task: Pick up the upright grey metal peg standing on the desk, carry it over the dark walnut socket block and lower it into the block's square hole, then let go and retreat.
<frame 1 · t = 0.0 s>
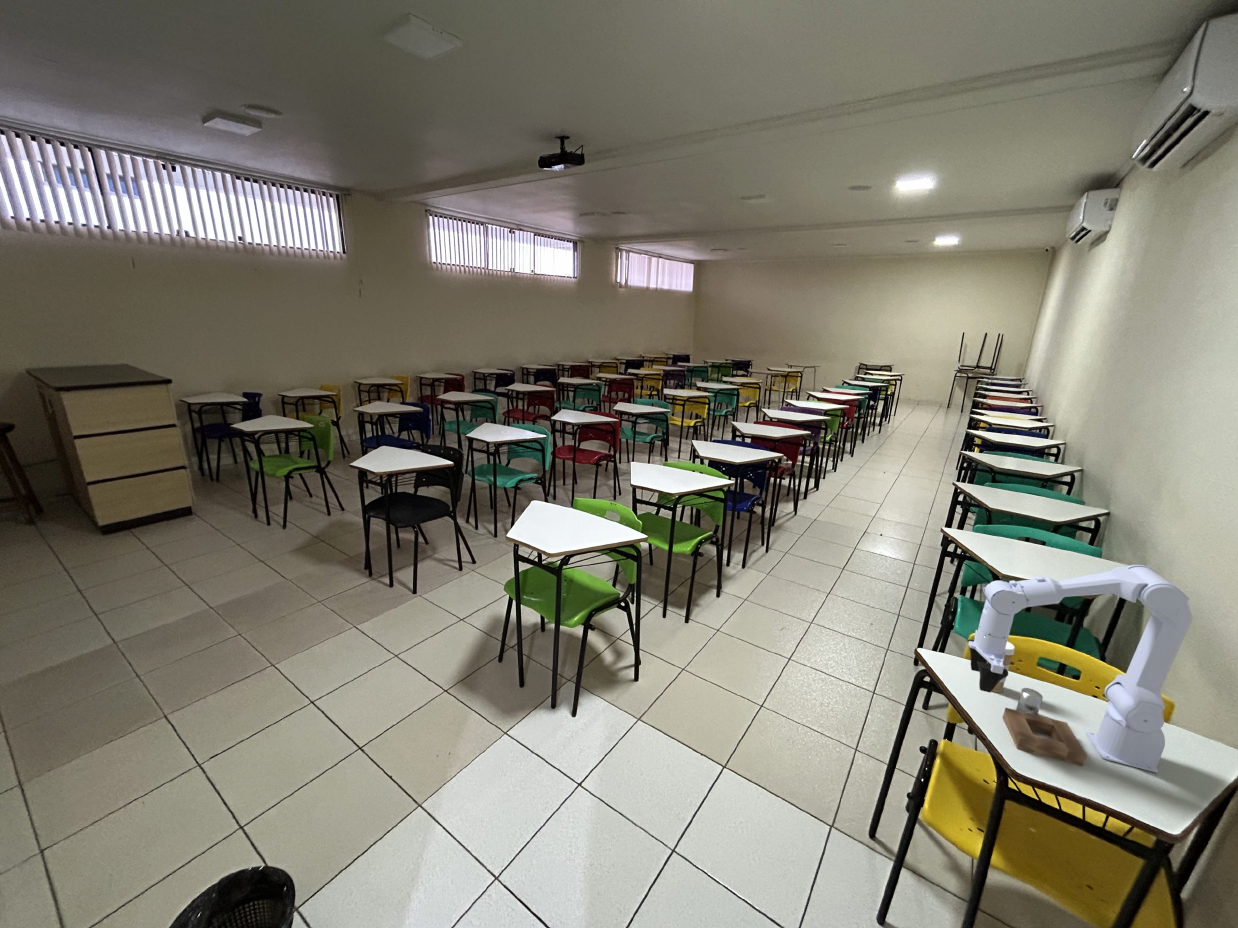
hand: (980, 680, 120), 10 cm above the table, fingers open, 7 cm apart
sprinkles bottle: (992, 687, 132), on the table
socket block: (1040, 740, 115), on the table
peg: (1026, 713, 124), on the table
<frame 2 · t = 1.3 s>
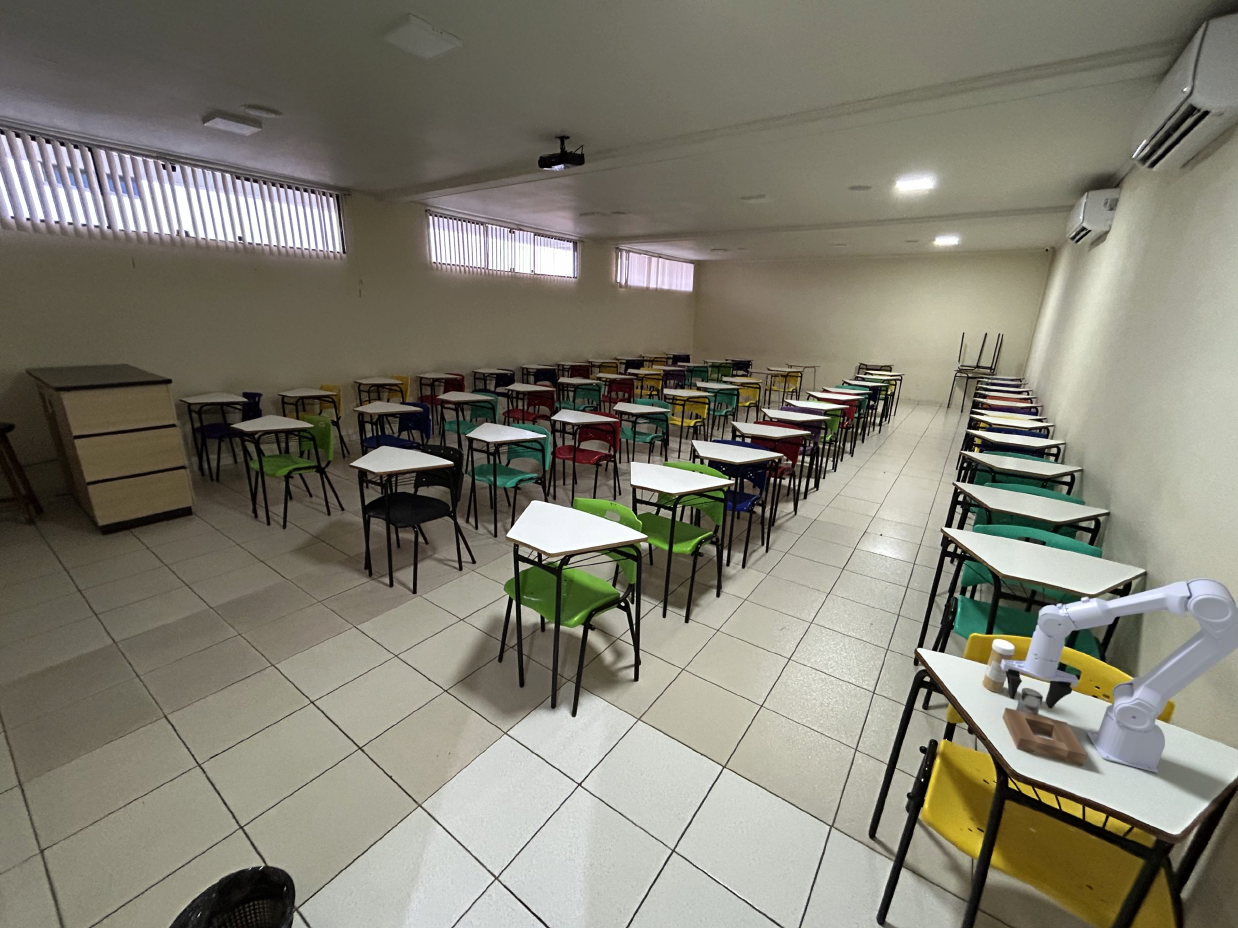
hand: (1029, 700, 123), 4 cm above the table, fingers open, 7 cm apart
nothing on the table moved.
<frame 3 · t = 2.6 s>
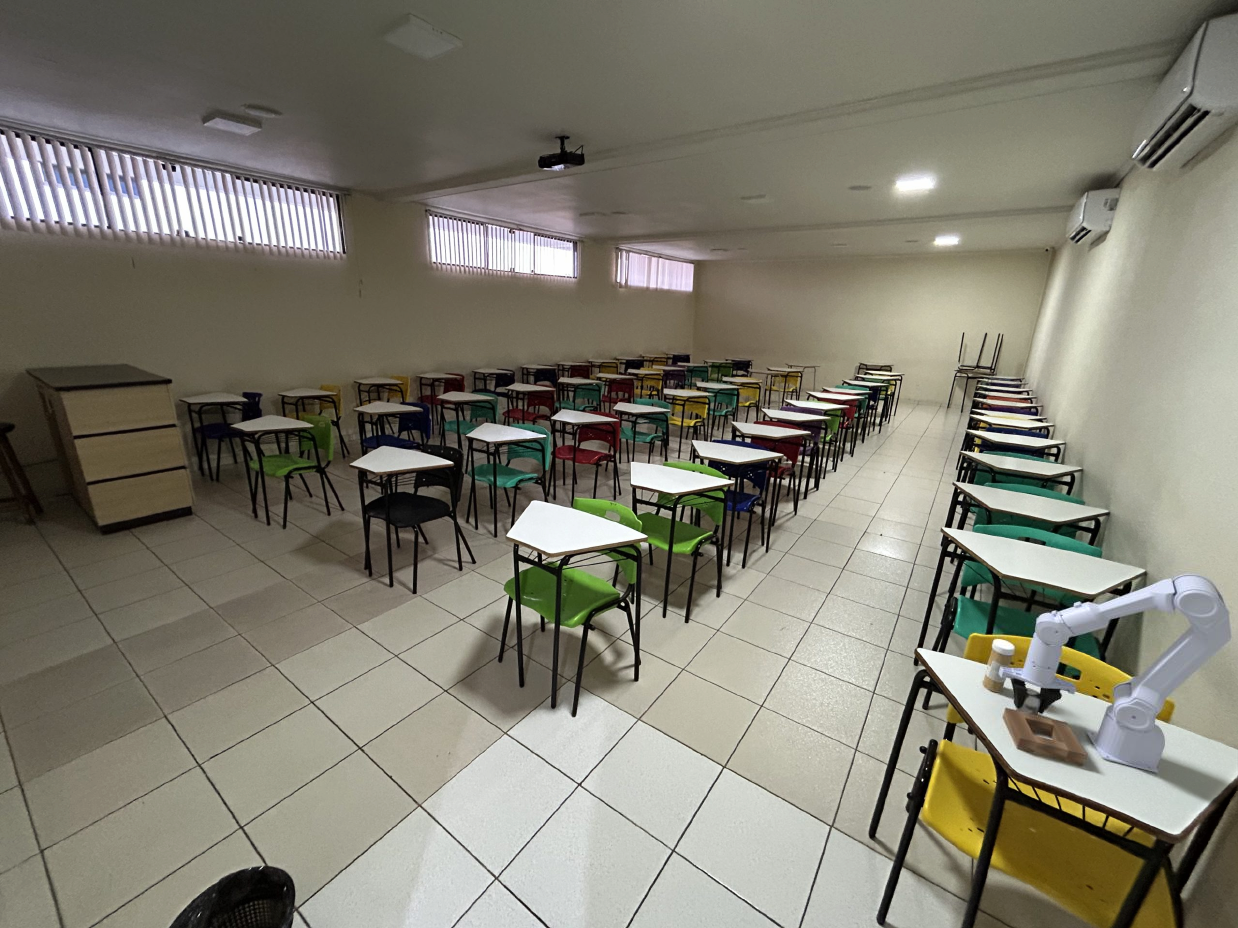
hand: (1027, 708, 123), 2 cm above the table, fingers closed on peg, 4 cm apart
peg: (1026, 713, 124), on the table, touching gripper
everything else where it was.
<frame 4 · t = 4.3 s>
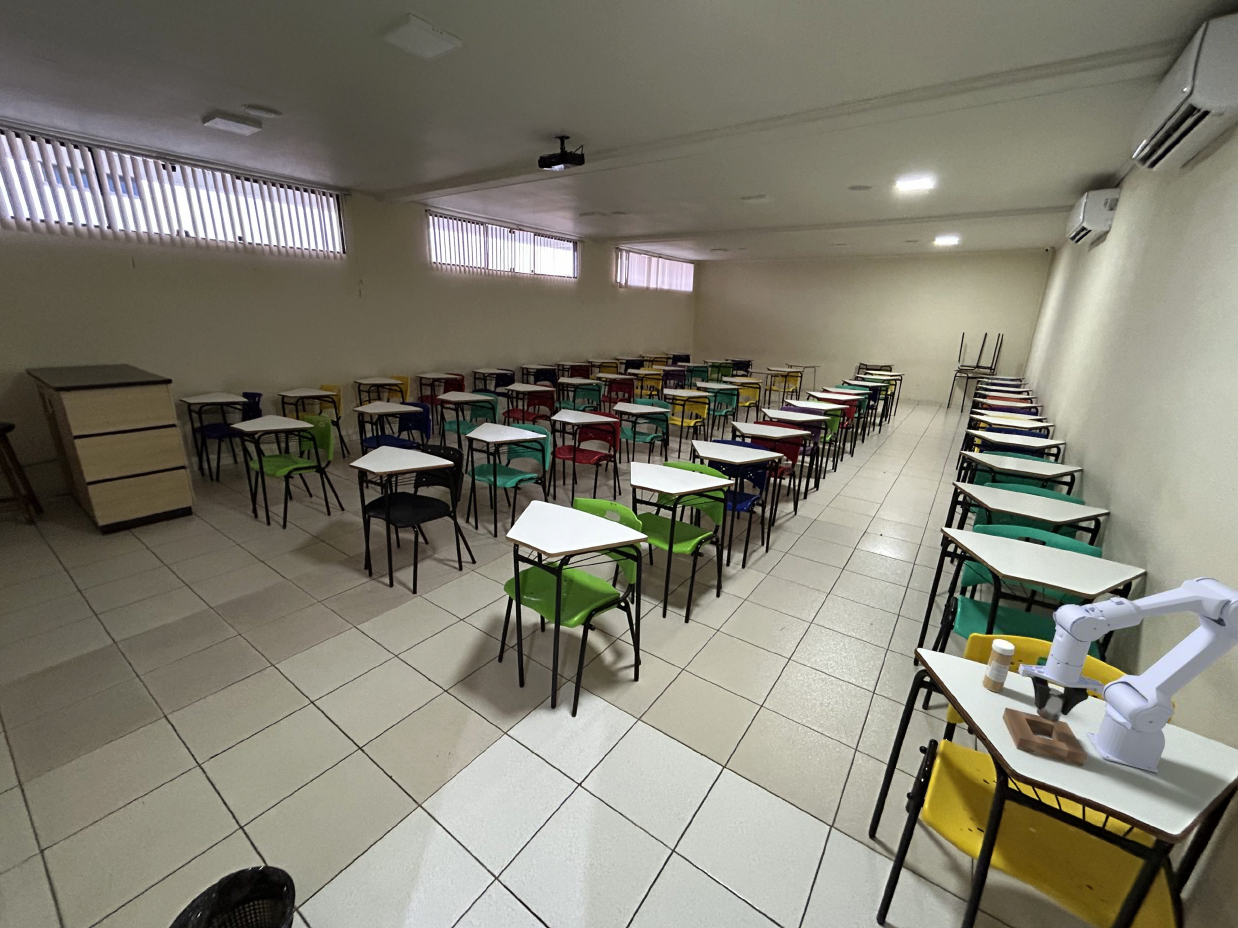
hand: (1050, 709, 113), 9 cm above the table, fingers closed on peg, 4 cm apart
peg: (1047, 715, 114), point 7 cm above the table, touching gripper
everything else where it was.
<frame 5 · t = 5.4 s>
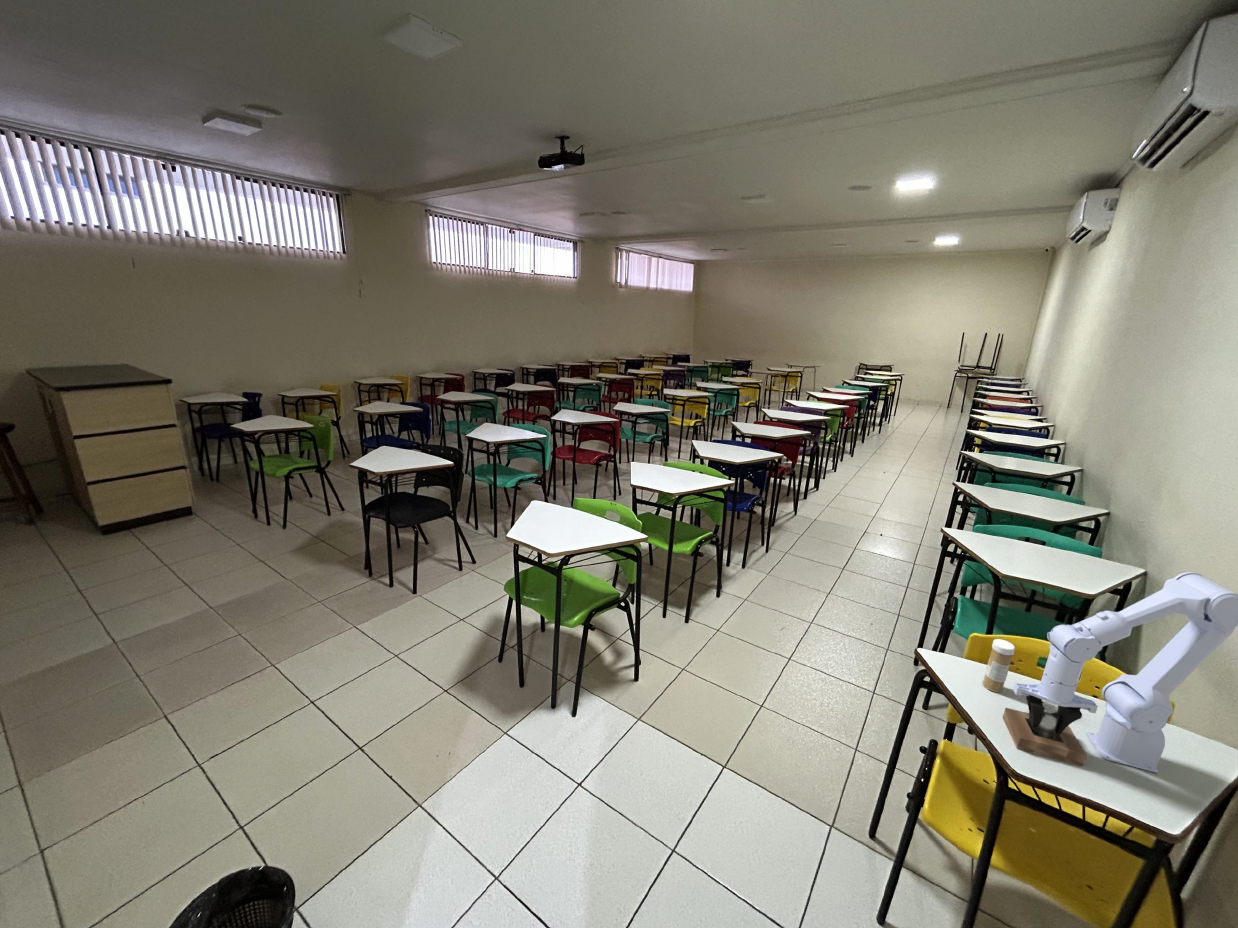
hand: (1044, 727, 114), 4 cm above the table, fingers closed on peg, 4 cm apart
peg: (1042, 733, 115), point 2 cm above the table, touching gripper
everything else where it was.
when the fingers open (4 cm above the table, at t = 6.2 s): peg drops 2 cm, resting in socket block.
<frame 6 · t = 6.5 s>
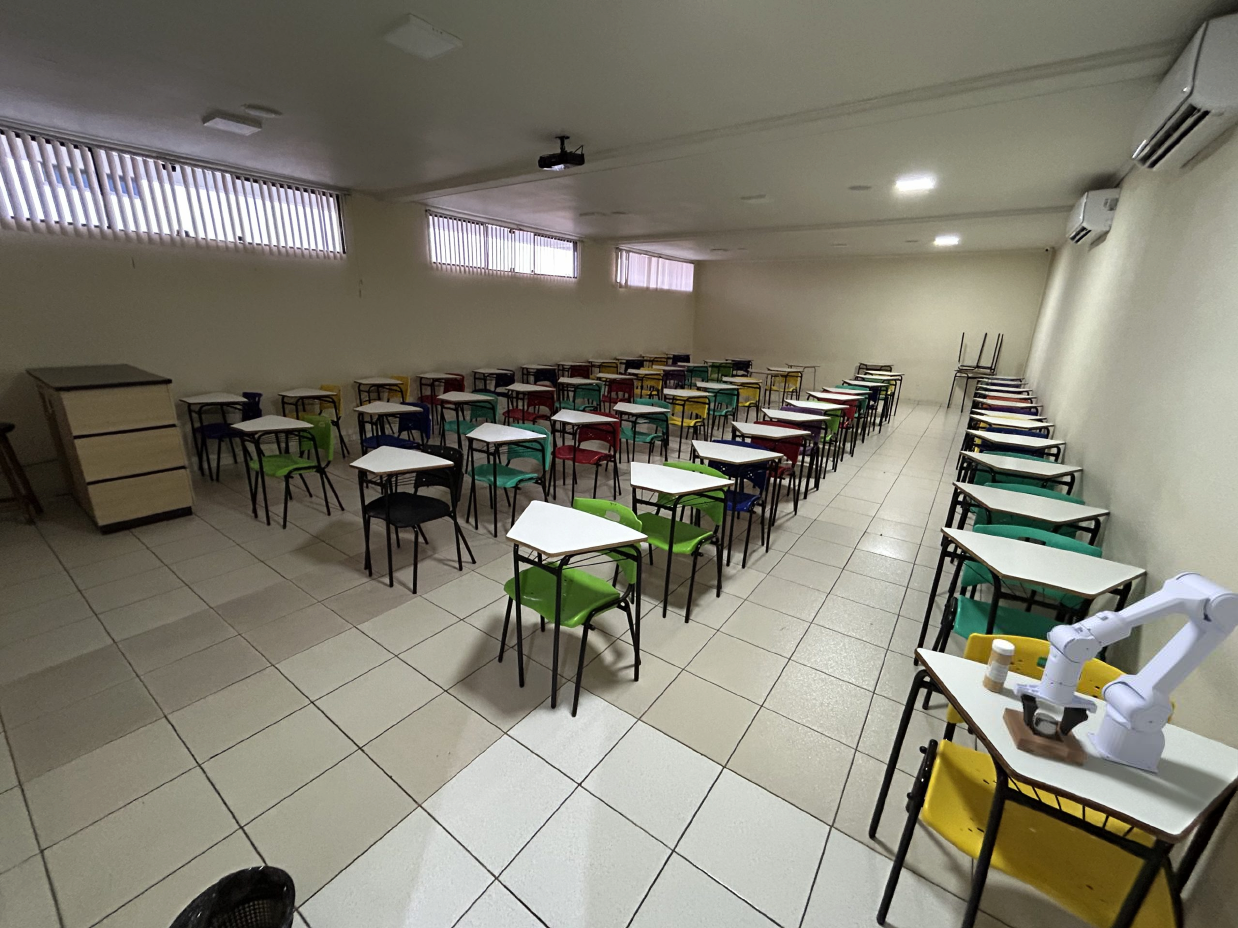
hand: (1044, 727, 114), 4 cm above the table, fingers open, 6 cm apart
peg: (1040, 739, 116), resting in socket block
everything else where it was.
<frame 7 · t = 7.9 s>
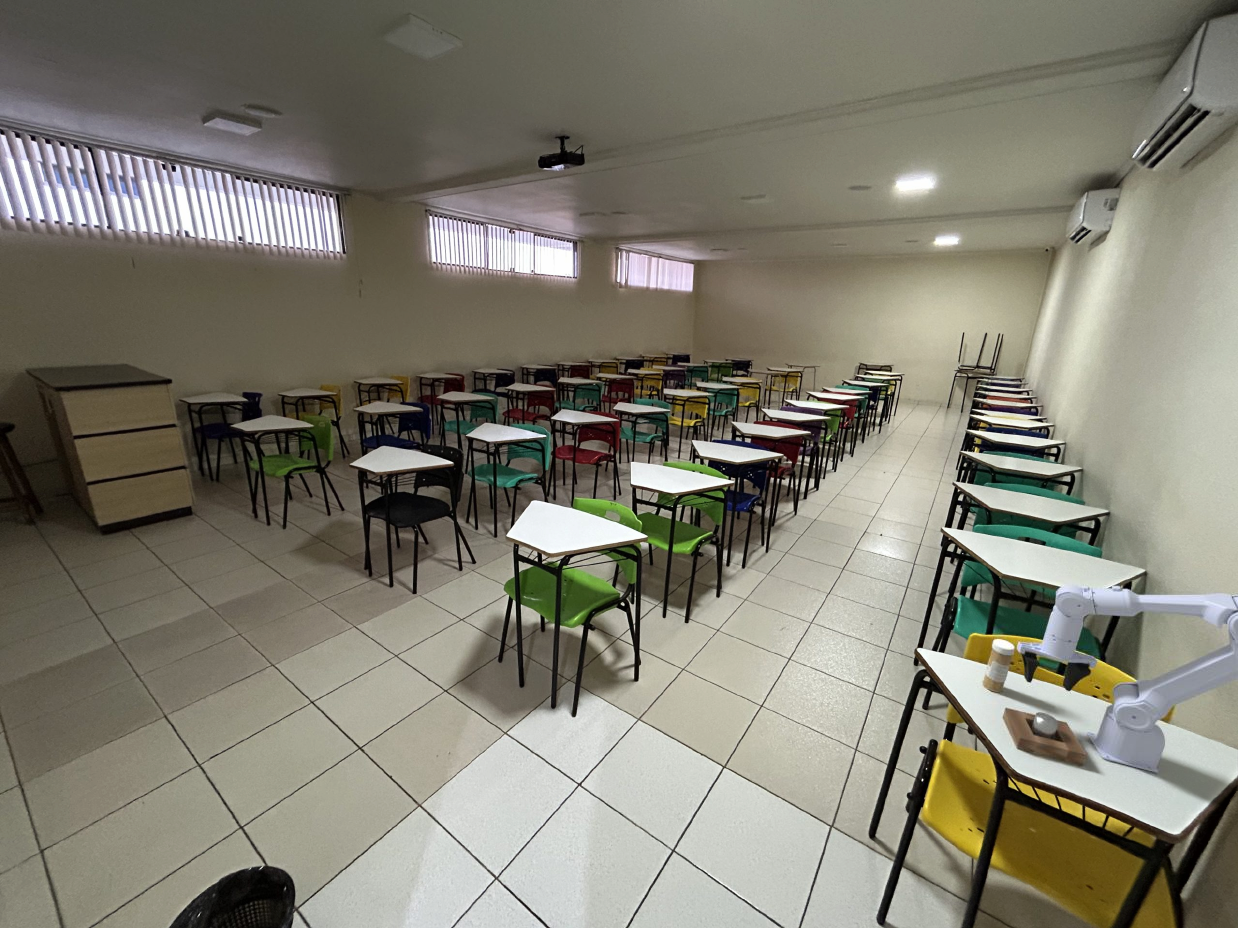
hand: (1046, 683, 119), 10 cm above the table, fingers open, 7 cm apart
nothing on the table moved.
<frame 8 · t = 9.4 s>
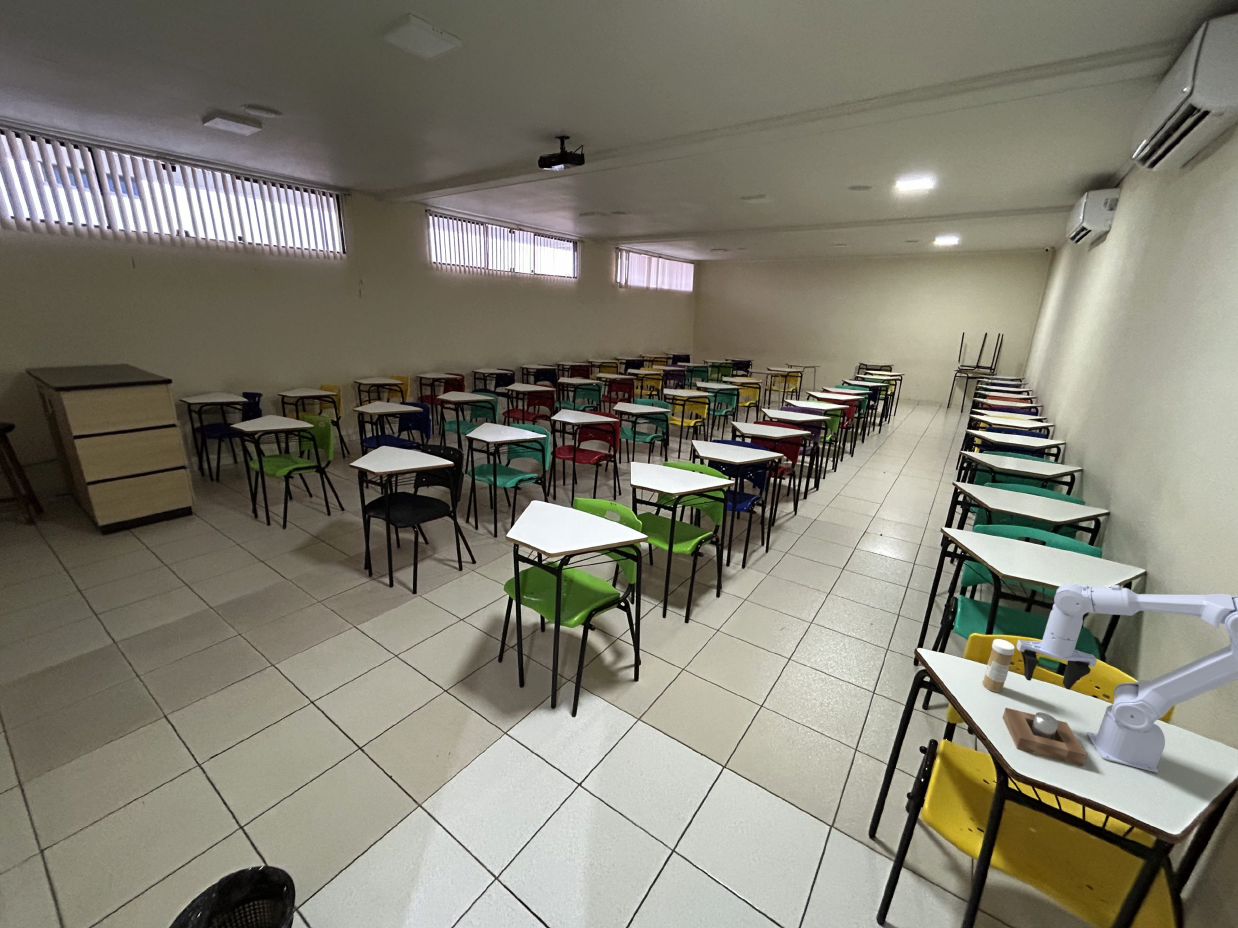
hand: (1046, 682, 120), 10 cm above the table, fingers open, 7 cm apart
nothing on the table moved.
at the end: peg 0.2 cm off-centre on the socket block, point 0.0 cm above the socket block's base; peg tilted 0°; the gripper is holding nothing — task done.
